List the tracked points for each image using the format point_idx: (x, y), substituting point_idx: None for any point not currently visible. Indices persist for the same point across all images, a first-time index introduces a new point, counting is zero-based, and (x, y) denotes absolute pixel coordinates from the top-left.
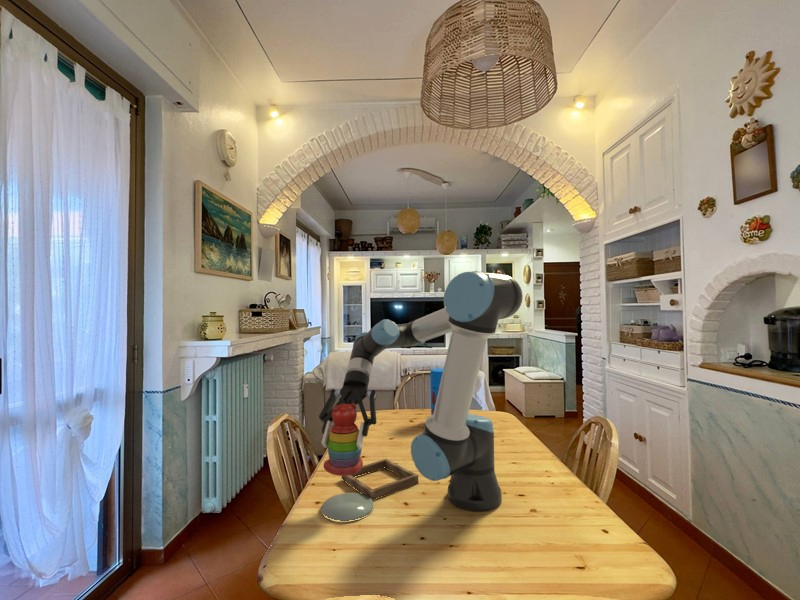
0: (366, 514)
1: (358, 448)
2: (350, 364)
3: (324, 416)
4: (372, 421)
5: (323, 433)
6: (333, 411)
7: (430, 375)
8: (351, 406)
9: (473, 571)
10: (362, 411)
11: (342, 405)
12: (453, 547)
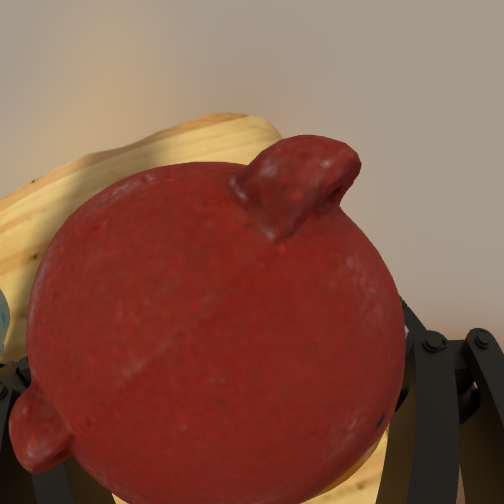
0: None
1: None
2: None
3: (463, 365)
4: (17, 388)
5: None
6: (355, 224)
7: None
8: (32, 361)
9: (22, 213)
10: (52, 468)
11: (187, 271)
12: (33, 253)
